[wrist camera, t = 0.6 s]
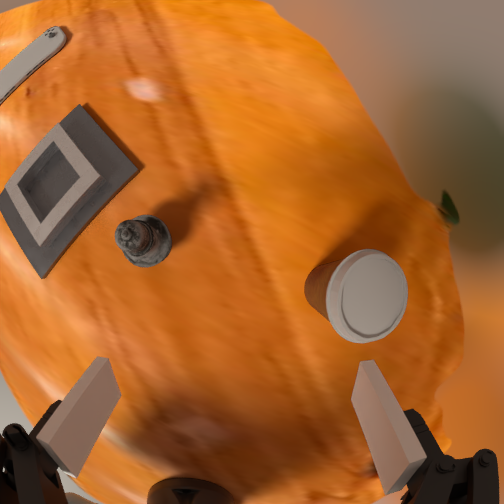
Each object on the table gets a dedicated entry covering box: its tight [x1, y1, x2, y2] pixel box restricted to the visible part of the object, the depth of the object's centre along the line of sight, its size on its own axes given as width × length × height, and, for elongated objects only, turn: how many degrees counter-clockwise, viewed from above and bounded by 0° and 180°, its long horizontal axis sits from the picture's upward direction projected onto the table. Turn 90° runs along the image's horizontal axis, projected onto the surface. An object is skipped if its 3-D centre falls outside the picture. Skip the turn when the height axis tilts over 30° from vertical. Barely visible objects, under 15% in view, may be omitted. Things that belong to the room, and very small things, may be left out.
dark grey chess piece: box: [115, 215, 172, 267], centre depth 27 cm, size 6×6×12 cm
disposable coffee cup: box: [305, 249, 408, 343], centre depth 30 cm, size 10×10×12 cm
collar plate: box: [0, 104, 140, 279], centre depth 29 cm, size 20×16×4 cm
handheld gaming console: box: [0, 26, 67, 105], centre depth 28 cm, size 23×3×10 cm
